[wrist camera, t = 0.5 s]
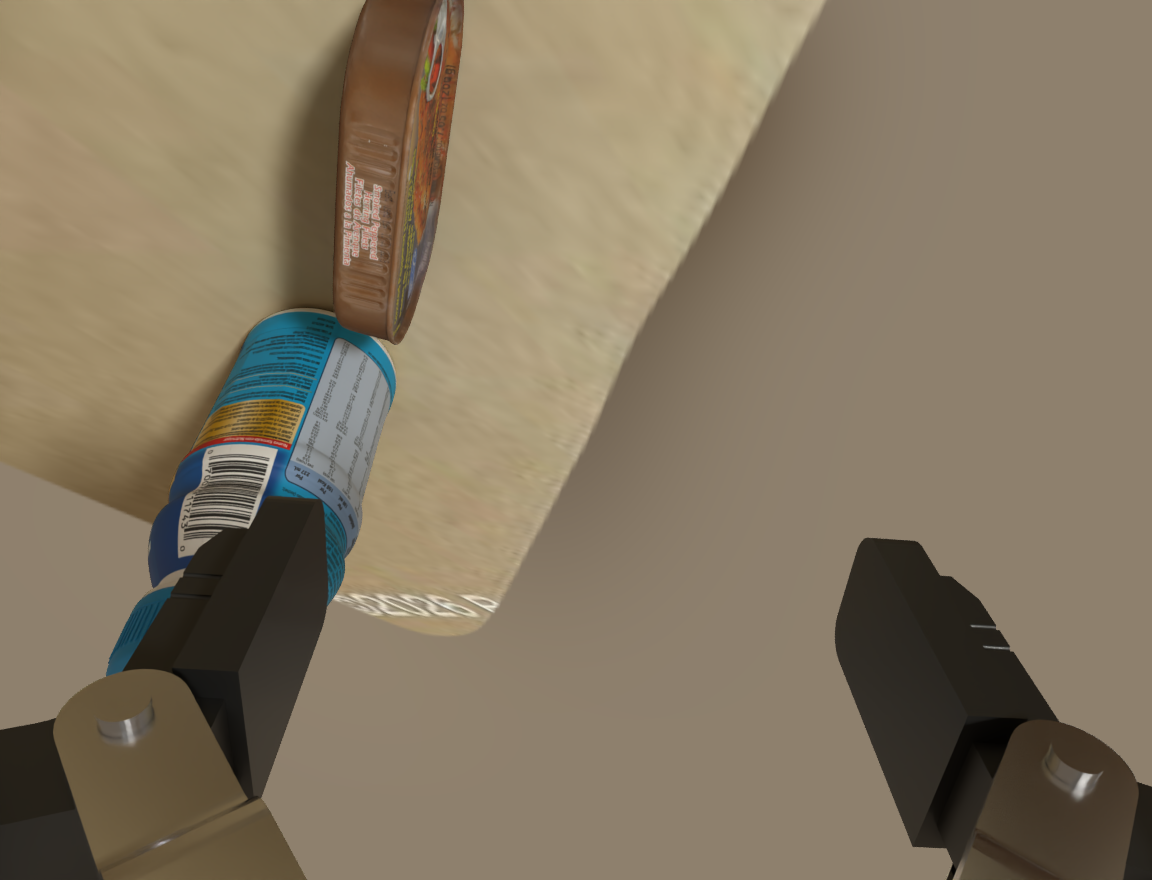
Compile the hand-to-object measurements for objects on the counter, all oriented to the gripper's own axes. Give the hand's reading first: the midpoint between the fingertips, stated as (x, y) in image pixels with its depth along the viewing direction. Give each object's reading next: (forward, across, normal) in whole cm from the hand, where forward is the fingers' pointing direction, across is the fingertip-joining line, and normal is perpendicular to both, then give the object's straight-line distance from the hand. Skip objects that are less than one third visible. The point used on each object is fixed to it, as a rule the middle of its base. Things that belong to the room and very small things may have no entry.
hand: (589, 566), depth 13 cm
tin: (+30, +7, -1) cm, 30 cm away
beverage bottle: (+33, +12, +12) cm, 38 cm away
